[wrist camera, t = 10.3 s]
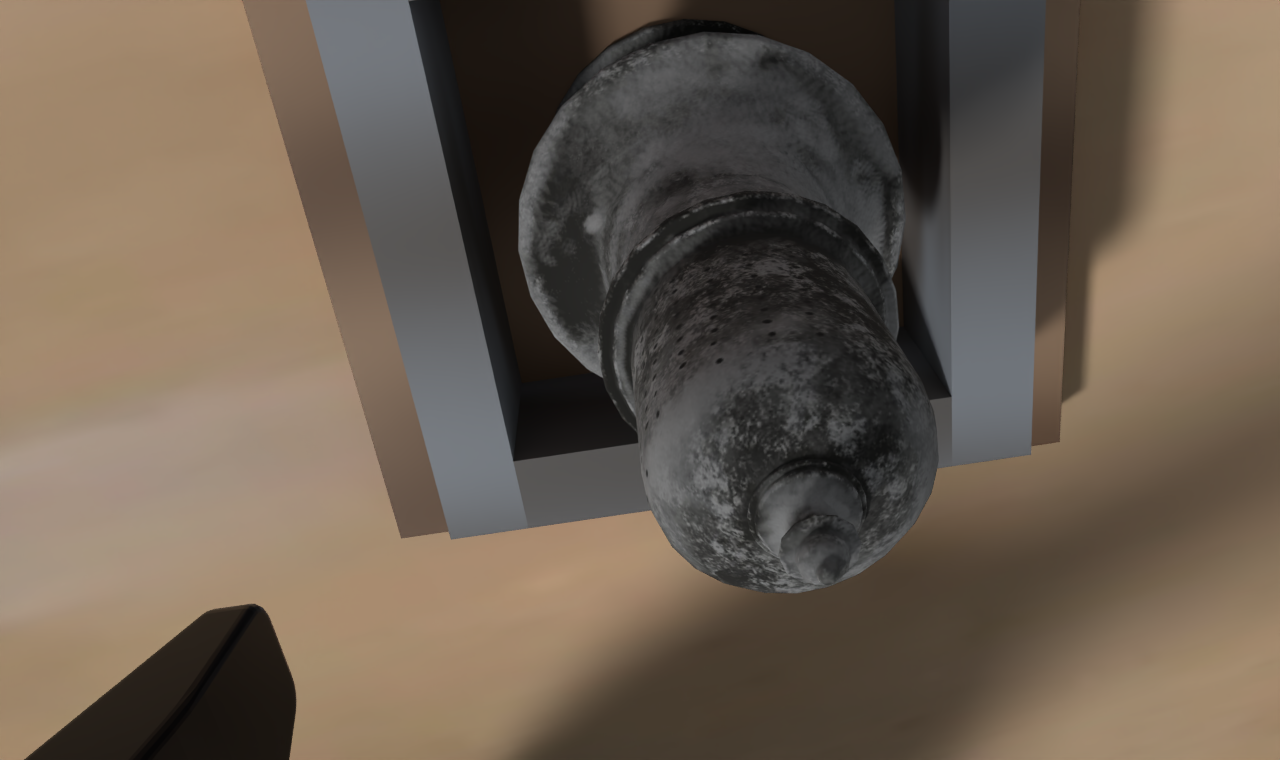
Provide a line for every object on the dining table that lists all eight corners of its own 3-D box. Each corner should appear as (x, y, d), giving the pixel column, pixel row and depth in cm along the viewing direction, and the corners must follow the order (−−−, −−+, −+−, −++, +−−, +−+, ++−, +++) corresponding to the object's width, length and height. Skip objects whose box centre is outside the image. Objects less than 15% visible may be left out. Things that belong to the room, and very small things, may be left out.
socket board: (1040, 418, 23) (1125, 523, 19) (408, 512, 23) (376, 632, 20) (1069, -347, 17) (1202, -401, 13) (201, -208, 17) (99, -224, 13)
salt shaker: (919, 153, 19) (1346, 536, 8) (700, 376, 21) (824, 924, 10) (679, -79, 17) (839, 38, 7) (461, 190, 19) (307, 624, 8)
